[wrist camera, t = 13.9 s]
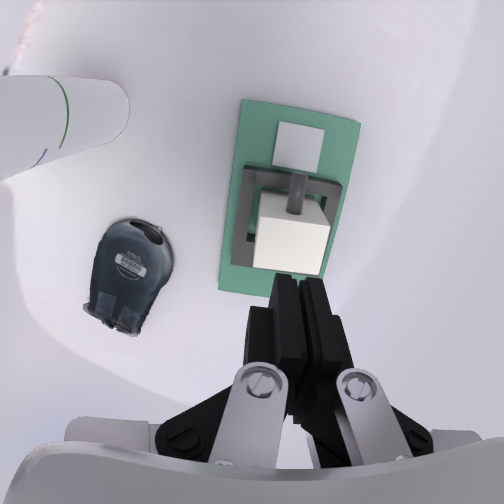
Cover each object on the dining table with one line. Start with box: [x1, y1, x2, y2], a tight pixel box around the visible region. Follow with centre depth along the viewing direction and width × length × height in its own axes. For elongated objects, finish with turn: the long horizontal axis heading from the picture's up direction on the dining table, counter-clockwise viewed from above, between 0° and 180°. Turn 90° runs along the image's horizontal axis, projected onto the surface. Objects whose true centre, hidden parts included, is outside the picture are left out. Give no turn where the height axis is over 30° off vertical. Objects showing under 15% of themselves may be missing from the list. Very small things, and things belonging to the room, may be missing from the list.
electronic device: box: [83, 220, 173, 337], centre depth 33 cm, size 9×6×15 cm
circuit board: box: [218, 100, 361, 298], centre depth 28 cm, size 20×11×4 cm, turn 171°
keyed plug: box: [253, 172, 330, 275], centre depth 25 cm, size 8×5×8 cm, turn 173°
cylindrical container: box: [0, 75, 130, 181], centre depth 15 cm, size 7×7×25 cm
